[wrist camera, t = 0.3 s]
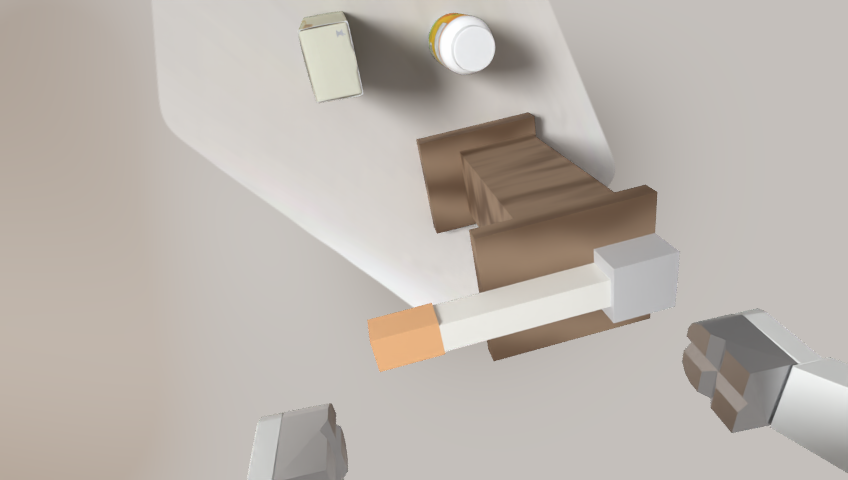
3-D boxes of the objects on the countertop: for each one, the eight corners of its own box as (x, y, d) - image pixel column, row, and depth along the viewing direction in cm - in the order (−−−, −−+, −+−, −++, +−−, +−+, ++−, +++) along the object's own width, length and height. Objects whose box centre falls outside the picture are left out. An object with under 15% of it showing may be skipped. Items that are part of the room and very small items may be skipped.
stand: (416, 139, 57) (474, 239, 34) (528, 112, 58) (657, 191, 35) (434, 226, 62) (493, 361, 40) (535, 200, 63) (650, 318, 41)
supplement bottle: (482, 23, 52) (512, 30, 44) (463, 72, 54) (489, 87, 46) (438, 4, 50) (460, 7, 42) (420, 55, 52) (437, 68, 44)
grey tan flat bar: (364, 309, 35) (366, 335, 33) (655, 232, 37) (680, 251, 34) (379, 358, 38) (383, 386, 35) (651, 285, 39) (675, 306, 36)
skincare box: (301, 17, 49) (294, 25, 38) (343, 10, 49) (347, 15, 38) (318, 81, 52) (315, 105, 41) (357, 74, 52) (364, 95, 41)
